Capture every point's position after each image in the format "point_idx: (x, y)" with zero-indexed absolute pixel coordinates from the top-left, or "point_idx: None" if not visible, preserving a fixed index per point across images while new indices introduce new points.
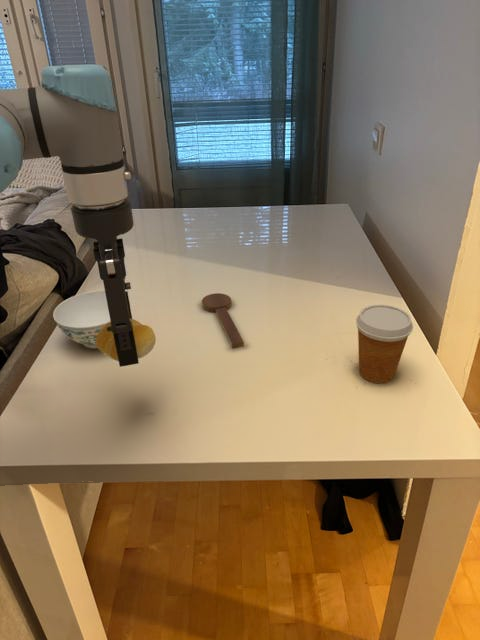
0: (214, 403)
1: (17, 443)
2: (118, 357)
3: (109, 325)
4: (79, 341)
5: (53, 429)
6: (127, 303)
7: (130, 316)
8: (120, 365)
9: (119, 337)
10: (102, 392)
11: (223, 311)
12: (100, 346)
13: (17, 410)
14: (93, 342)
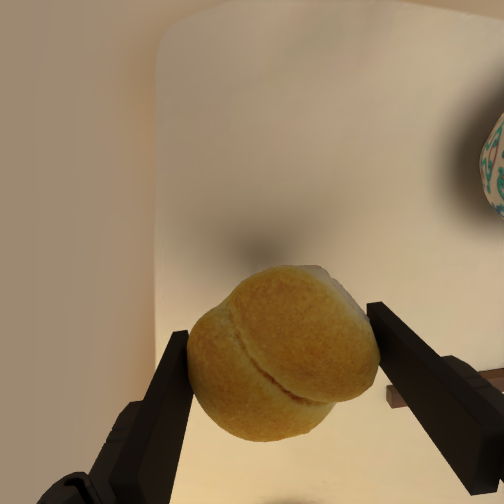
0: None
1: (207, 37)
2: (163, 355)
3: (306, 351)
4: (499, 118)
5: (237, 107)
6: (428, 430)
7: (391, 378)
8: (173, 336)
9: (95, 468)
10: (325, 187)
11: (497, 387)
12: (242, 291)
13: (307, 5)
14: (483, 154)
